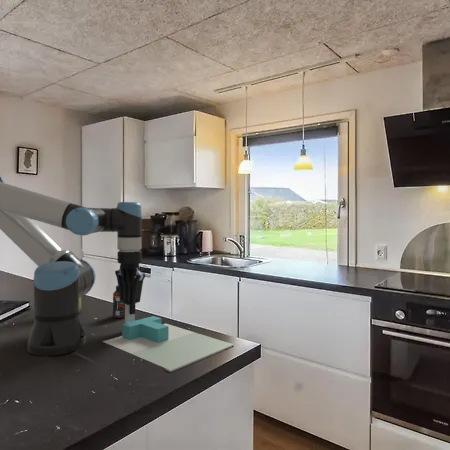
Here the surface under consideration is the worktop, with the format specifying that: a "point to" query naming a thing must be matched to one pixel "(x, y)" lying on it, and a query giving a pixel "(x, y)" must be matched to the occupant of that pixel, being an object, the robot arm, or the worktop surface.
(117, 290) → the supplement bottle
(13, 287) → the worktop surface
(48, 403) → the worktop surface
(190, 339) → the board
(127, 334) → the t block
